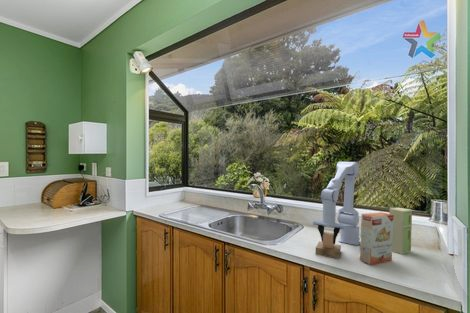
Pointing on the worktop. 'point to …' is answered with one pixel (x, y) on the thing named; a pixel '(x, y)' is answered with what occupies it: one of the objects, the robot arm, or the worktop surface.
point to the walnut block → (328, 250)
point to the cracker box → (376, 238)
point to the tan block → (328, 240)
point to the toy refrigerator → (401, 230)
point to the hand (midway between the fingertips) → (328, 242)
